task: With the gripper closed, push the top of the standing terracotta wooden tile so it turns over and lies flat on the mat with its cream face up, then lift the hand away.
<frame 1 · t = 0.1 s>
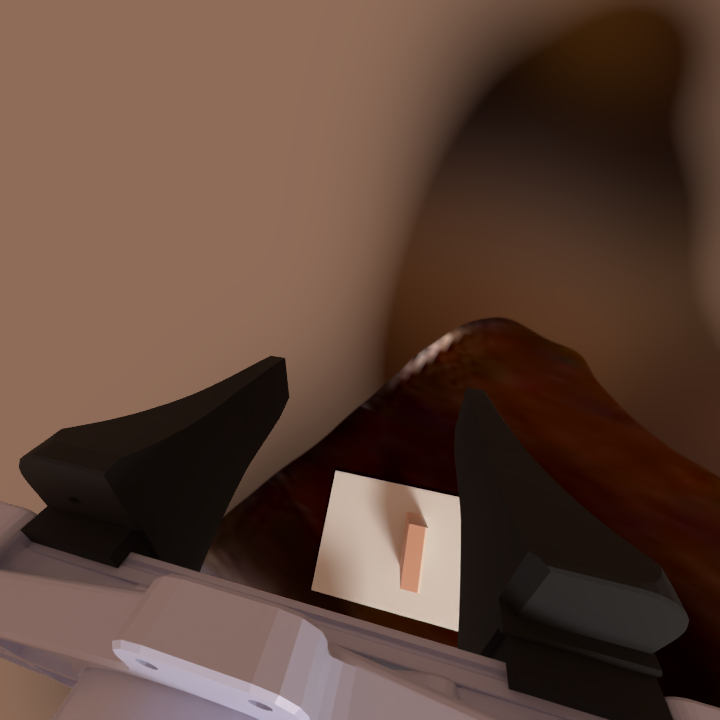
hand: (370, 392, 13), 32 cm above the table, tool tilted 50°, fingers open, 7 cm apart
mat: (394, 544, 39), on the table
tile: (411, 539, 39), resting on mat
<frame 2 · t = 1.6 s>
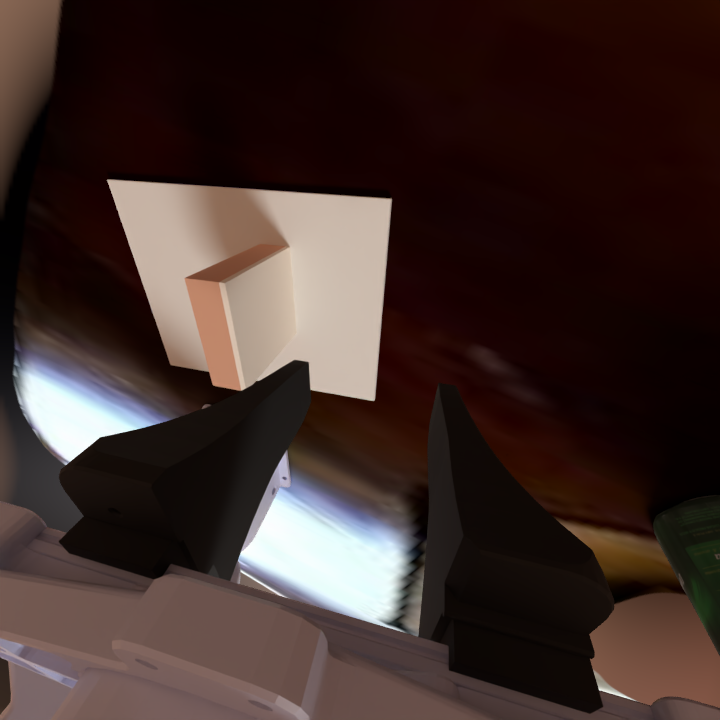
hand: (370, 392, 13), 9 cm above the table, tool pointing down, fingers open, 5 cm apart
mat: (257, 299, 22), on the table
coffee jar: (714, 526, 24), on the table
tile: (279, 291, 21), resting on mat
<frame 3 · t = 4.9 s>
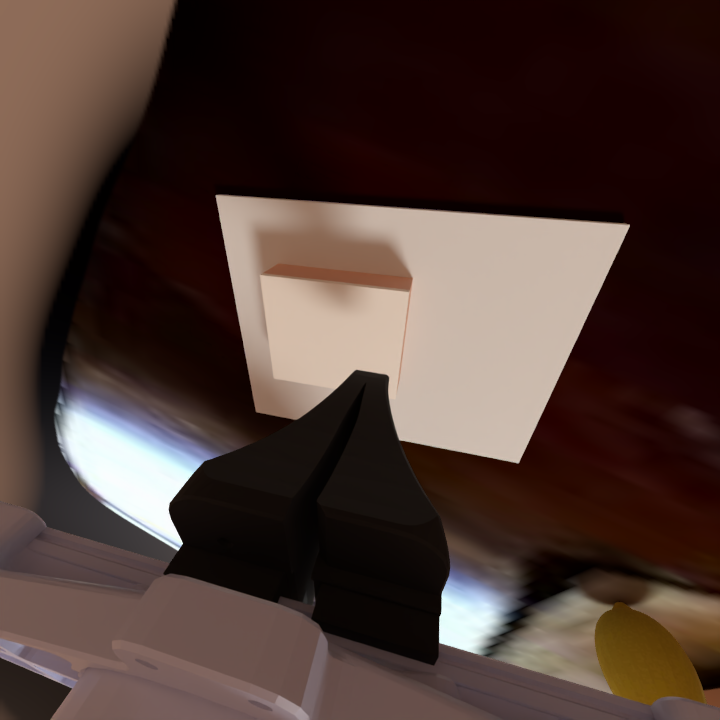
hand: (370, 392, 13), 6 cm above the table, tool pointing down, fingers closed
mat: (388, 343, 18), on the table
tile: (403, 341, 16), point 1 cm above the table, tilted 90°, touching mat
lemon: (618, 599, 26), on the table
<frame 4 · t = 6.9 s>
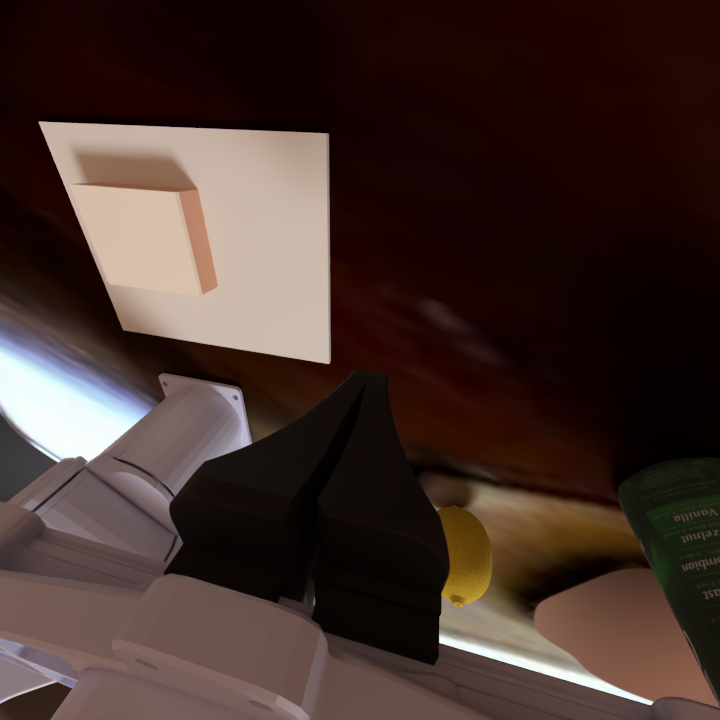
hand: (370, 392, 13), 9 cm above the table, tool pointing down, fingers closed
mat: (203, 254, 22), on the table
coffee jar: (680, 494, 23), on the table
tile: (199, 245, 20), point 1 cm above the table, tilted 90°, touching mat
lemon: (454, 504, 30), on the table
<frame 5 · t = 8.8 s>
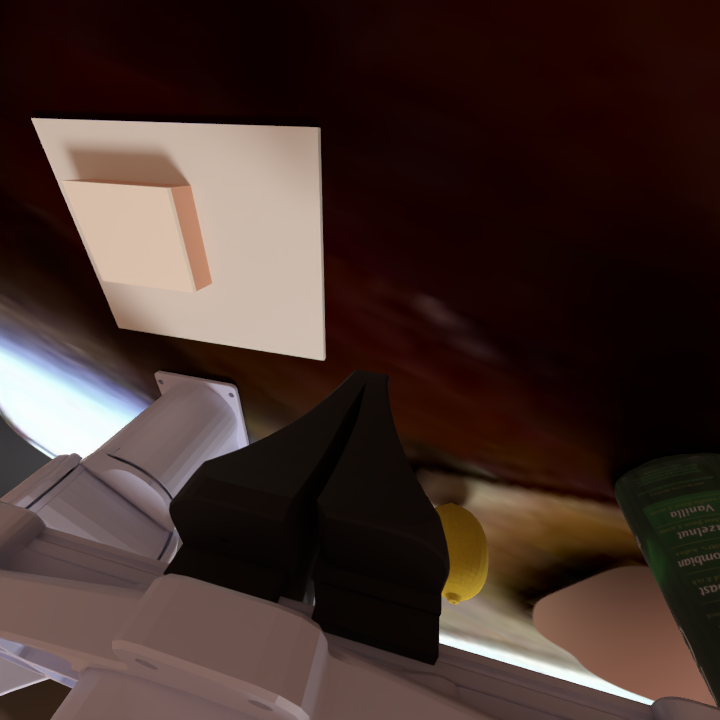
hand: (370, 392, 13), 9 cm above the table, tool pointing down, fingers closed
mat: (197, 251, 21), on the table
coffee jar: (677, 491, 23), on the table
tile: (192, 241, 20), point 1 cm above the table, tilted 90°, touching mat
lemon: (451, 501, 30), on the table
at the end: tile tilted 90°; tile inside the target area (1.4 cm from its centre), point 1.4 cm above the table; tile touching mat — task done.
